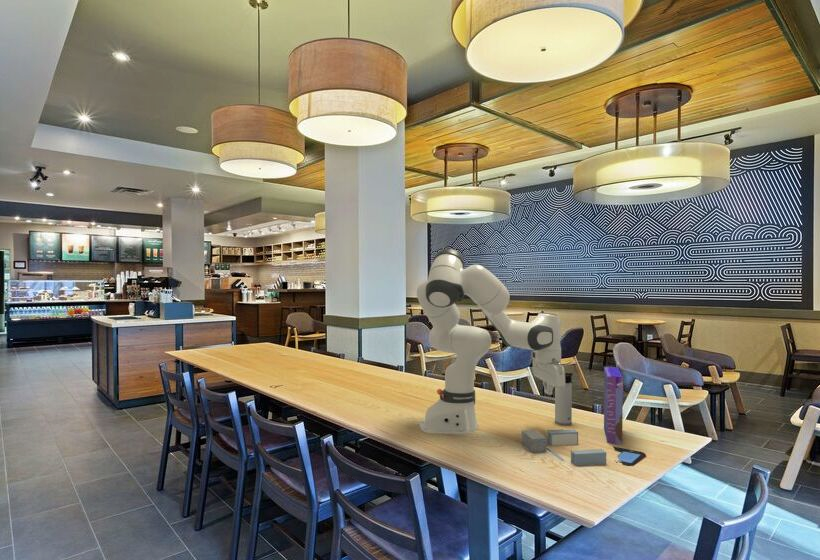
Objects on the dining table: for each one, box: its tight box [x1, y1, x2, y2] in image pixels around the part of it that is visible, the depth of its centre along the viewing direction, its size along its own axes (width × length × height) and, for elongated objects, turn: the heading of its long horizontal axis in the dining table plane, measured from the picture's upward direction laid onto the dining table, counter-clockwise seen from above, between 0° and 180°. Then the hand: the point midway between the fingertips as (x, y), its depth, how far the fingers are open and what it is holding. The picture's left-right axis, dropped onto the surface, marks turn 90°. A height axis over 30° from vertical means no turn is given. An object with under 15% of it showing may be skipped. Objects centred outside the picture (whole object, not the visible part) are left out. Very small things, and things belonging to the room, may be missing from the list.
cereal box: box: [603, 365, 624, 445], centre depth 161 cm, size 17×5×24 cm, turn 160°
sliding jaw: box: [546, 428, 579, 446], centre depth 154 cm, size 10×7×5 cm
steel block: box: [521, 429, 548, 454], centre depth 148 cm, size 5×8×6 cm, turn 10°
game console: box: [612, 445, 647, 467], centre depth 142 cm, size 14×13×2 cm
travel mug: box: [554, 372, 574, 426], centre depth 175 cm, size 6×7×20 cm
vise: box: [547, 447, 607, 466], centre depth 141 cm, size 12×14×5 cm
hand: (548, 393), depth 163 cm, fingers closed
